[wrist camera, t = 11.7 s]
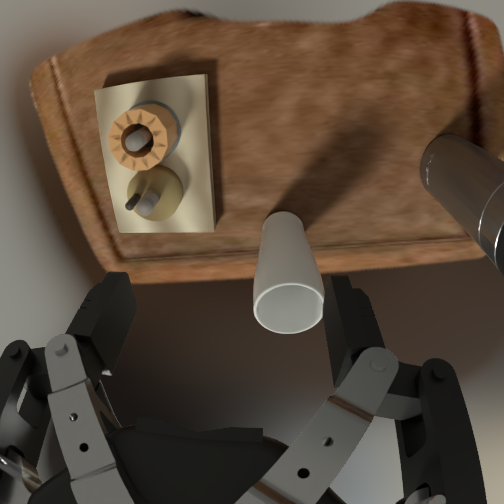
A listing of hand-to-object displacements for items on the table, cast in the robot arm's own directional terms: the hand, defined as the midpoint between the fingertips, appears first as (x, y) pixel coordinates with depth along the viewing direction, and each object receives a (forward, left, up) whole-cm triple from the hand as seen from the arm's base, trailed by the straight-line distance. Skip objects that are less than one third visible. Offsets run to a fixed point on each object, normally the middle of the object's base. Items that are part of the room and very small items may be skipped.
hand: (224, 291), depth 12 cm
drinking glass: (-4, +12, -26) cm, 29 cm away
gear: (+11, -2, -24) cm, 26 cm away
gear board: (+11, +2, -26) cm, 28 cm away
